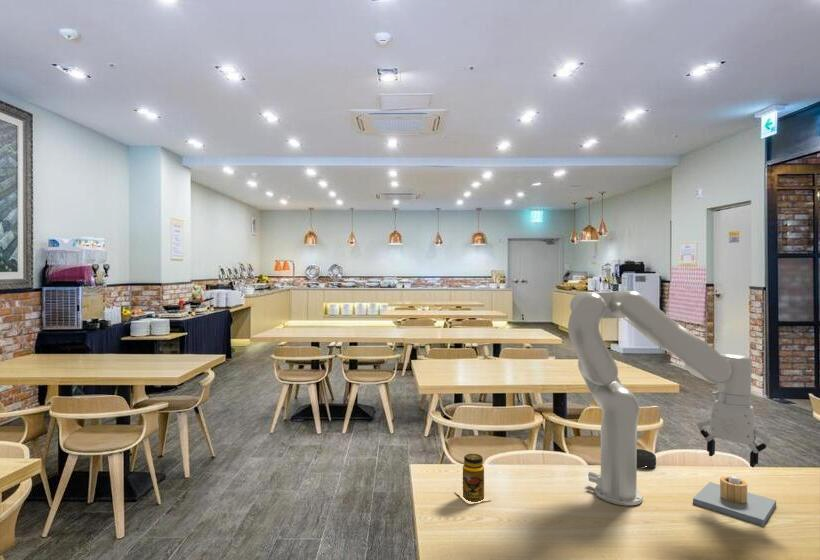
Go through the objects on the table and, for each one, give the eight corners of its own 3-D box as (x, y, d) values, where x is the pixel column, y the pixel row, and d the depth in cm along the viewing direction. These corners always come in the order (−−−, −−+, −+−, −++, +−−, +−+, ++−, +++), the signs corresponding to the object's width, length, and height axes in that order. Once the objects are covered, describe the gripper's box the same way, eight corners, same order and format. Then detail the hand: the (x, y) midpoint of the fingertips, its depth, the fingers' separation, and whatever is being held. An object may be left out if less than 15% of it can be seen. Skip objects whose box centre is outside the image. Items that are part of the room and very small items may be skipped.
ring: (717, 498, 129) (717, 480, 129) (723, 492, 133) (723, 474, 133) (743, 506, 124) (743, 487, 124) (749, 499, 128) (749, 481, 128)
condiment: (468, 506, 127) (468, 462, 127) (454, 493, 135) (454, 452, 135) (491, 501, 130) (491, 458, 130) (475, 488, 138) (475, 448, 138)
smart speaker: (623, 465, 157) (623, 453, 157) (630, 457, 164) (631, 446, 164) (652, 472, 151) (652, 459, 151) (658, 464, 158) (658, 452, 158)
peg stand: (692, 503, 129) (692, 476, 129) (709, 486, 140) (709, 462, 140) (763, 525, 117) (763, 496, 117) (776, 505, 128) (776, 478, 128)
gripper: (694, 394, 133) (692, 454, 133) (769, 408, 120) (767, 474, 120) (702, 391, 138) (700, 448, 138) (775, 404, 125) (773, 467, 125)
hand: (731, 460), depth 129 cm, fingers open, 9 cm apart
